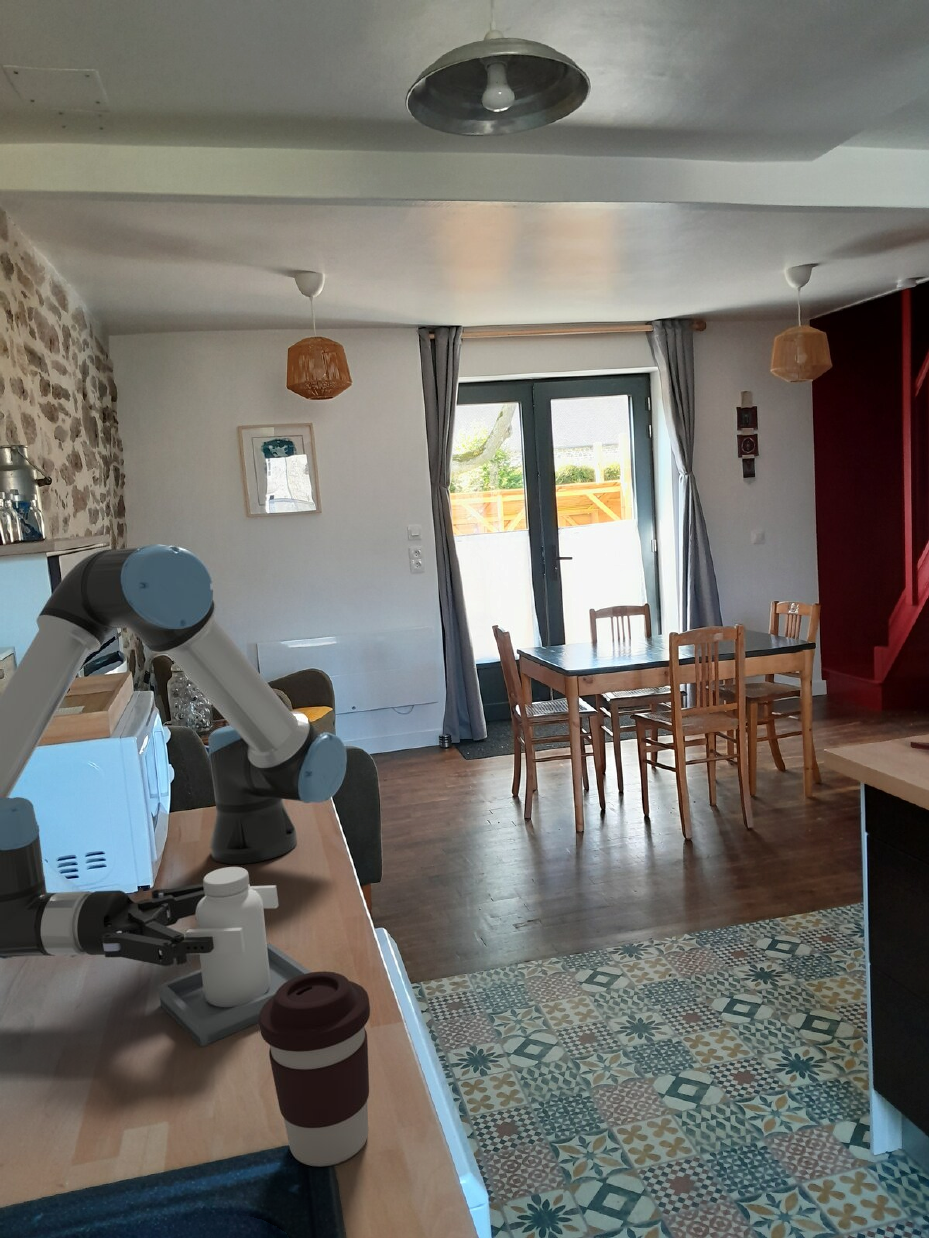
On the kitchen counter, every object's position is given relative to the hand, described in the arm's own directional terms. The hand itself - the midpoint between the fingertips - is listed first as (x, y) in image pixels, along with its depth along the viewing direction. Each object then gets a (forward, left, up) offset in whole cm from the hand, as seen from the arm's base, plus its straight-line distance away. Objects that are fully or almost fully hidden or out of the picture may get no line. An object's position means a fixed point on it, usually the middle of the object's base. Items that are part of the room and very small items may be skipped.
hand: (260, 917), depth 111 cm
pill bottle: (+3, -3, -10) cm, 10 cm away
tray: (+3, -3, -10) cm, 11 cm away
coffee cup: (+8, +28, -11) cm, 31 cm away
